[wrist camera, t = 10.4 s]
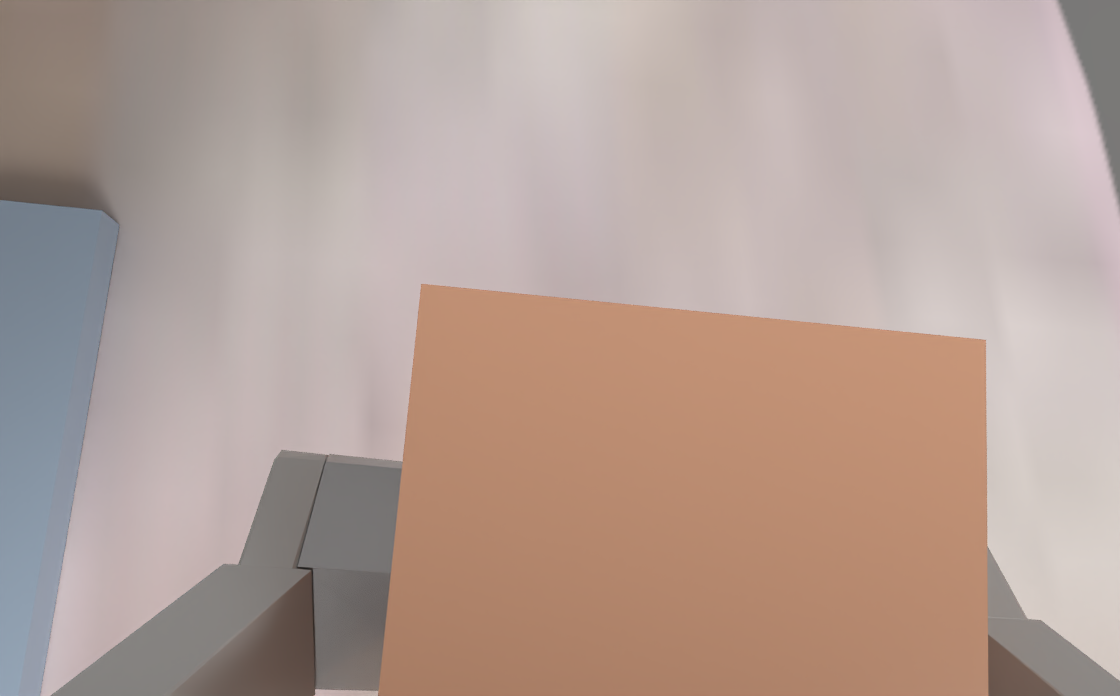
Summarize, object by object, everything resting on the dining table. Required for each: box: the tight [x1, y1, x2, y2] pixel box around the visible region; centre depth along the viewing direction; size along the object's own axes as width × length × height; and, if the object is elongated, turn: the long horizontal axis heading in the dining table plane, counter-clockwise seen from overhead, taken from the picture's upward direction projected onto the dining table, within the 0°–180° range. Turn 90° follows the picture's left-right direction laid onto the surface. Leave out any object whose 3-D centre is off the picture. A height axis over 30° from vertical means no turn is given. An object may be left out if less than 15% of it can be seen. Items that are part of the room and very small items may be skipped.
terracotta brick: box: [378, 284, 988, 696], centre depth 11 cm, size 4×4×8 cm
